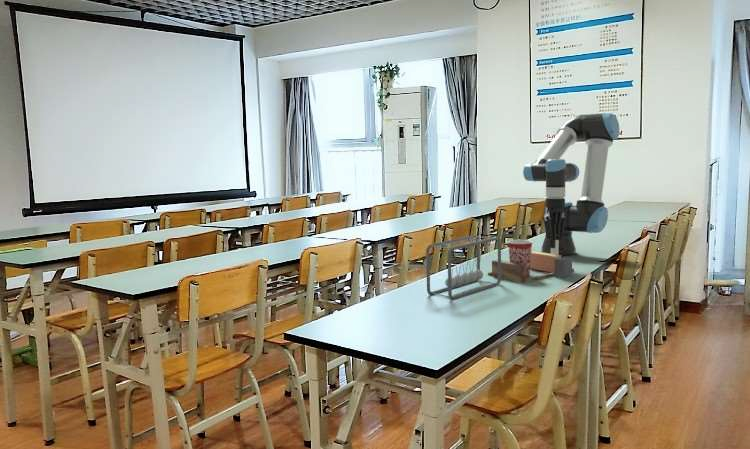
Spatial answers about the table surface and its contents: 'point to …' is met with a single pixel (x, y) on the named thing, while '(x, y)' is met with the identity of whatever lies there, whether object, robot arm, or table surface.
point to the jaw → (543, 261)
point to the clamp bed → (514, 271)
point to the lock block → (563, 268)
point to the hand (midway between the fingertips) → (554, 255)
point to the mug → (521, 253)
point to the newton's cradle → (465, 277)
